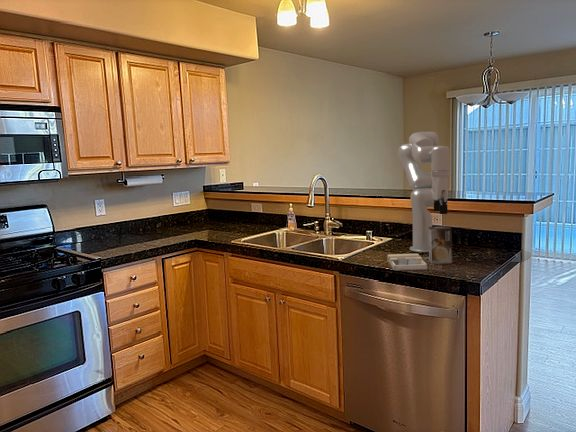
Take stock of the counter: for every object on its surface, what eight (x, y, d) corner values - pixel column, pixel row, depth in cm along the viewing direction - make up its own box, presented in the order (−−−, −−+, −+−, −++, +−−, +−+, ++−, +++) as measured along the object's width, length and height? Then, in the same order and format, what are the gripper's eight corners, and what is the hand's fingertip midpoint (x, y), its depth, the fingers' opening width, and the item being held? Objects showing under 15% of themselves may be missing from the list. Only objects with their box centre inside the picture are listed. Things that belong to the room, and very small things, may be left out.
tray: (391, 266, 200) (391, 261, 200) (422, 264, 199) (422, 260, 199) (394, 270, 192) (394, 265, 192) (427, 269, 191) (427, 264, 191)
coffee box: (449, 260, 205) (449, 226, 203) (452, 263, 199) (452, 228, 197) (428, 260, 206) (428, 226, 204) (431, 264, 200) (431, 229, 198)
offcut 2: (407, 257, 197) (408, 259, 194) (415, 257, 197) (416, 259, 193) (407, 265, 198) (408, 267, 194) (415, 265, 197) (416, 267, 194)
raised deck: (387, 260, 210) (387, 254, 209) (417, 259, 209) (417, 253, 209) (391, 266, 200) (391, 259, 200) (422, 264, 199) (422, 258, 199)
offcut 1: (397, 257, 198) (398, 259, 195) (405, 257, 198) (406, 259, 195) (397, 265, 199) (398, 267, 195) (405, 265, 199) (406, 267, 195)
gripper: (426, 173, 206) (427, 210, 208) (437, 175, 189) (437, 215, 191) (443, 172, 205) (443, 209, 208) (455, 175, 188) (454, 214, 191)
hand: (440, 212), depth 199 cm, fingers open, 9 cm apart
